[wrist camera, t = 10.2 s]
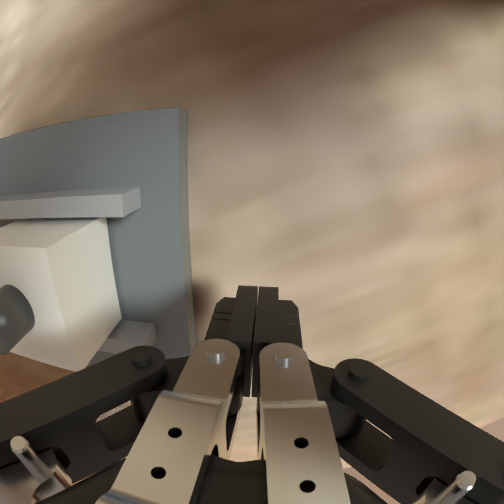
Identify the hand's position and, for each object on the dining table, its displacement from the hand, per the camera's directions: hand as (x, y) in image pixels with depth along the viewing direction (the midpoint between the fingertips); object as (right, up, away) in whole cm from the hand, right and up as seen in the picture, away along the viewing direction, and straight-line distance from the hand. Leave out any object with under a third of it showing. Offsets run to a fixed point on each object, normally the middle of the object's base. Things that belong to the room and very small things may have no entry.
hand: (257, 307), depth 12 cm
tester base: (-15, +2, +6) cm, 17 cm away
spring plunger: (-11, +1, +4) cm, 11 cm away
